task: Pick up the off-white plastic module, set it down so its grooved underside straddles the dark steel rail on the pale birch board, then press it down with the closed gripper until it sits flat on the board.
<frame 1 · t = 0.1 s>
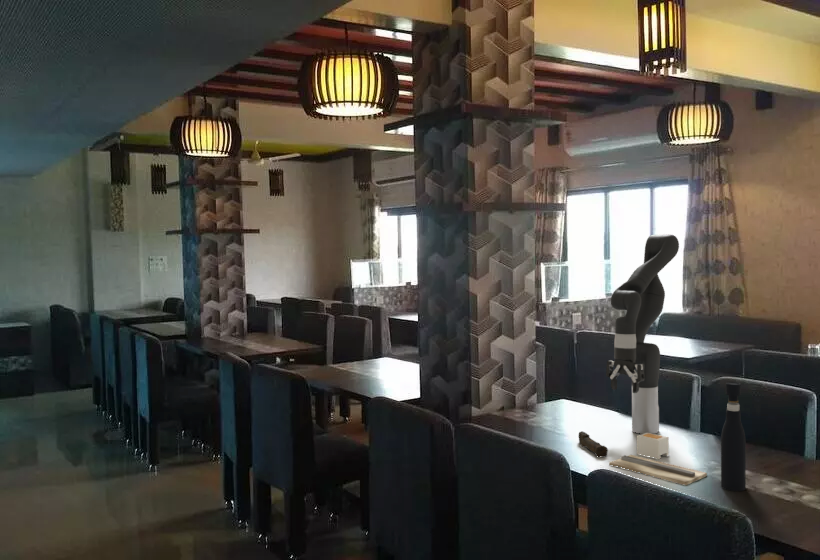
hand: (624, 391, 256), 17 cm above the table, tool pointing down, fingers open, 8 cm apart
module: (652, 454, 237), on the table
rail board: (656, 470, 220), on the table
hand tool: (589, 450, 244), on the table
wine bottle: (733, 488, 204), on the table
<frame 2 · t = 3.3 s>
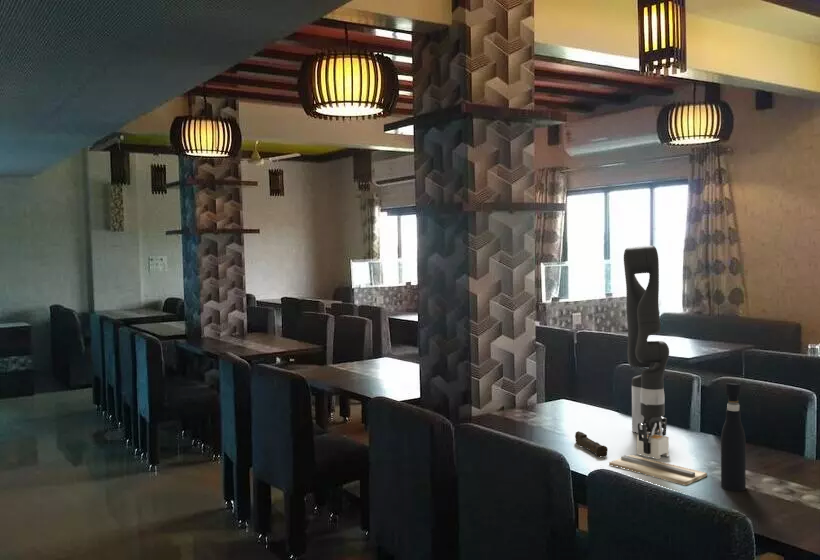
hand: (652, 451, 237), 1 cm above the table, tool pointing down, fingers closed on module, 6 cm apart
module: (652, 454, 237), on the table, touching gripper
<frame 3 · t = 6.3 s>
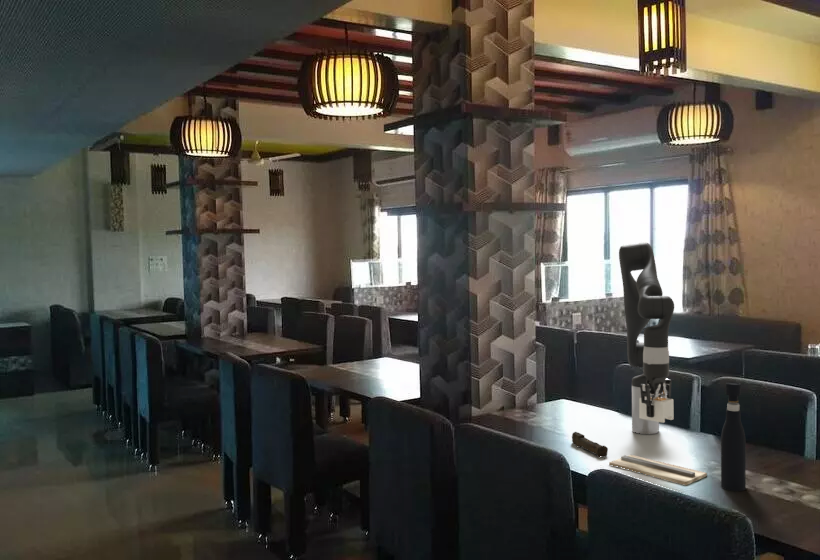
hand: (656, 414, 219), 17 cm above the table, tool pointing down, fingers closed on module, 6 cm apart
module: (656, 418, 220), point 16 cm above the table, touching gripper
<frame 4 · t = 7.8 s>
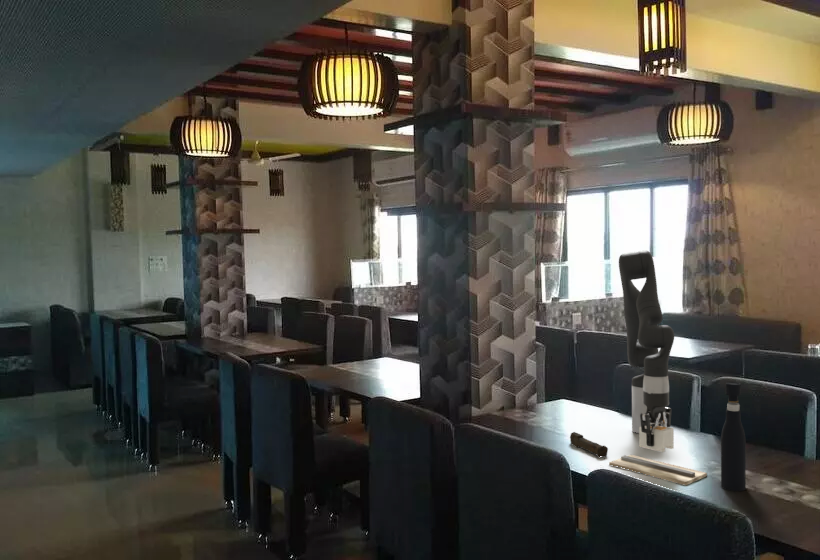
hand: (656, 443, 220), 8 cm above the table, tool pointing down, fingers closed on module, 6 cm apart
module: (656, 447, 220), point 7 cm above the table, touching gripper
when the fingers open (4 cm above the table, at t = 9.3 s): module drops 1 cm, resting on rail board.
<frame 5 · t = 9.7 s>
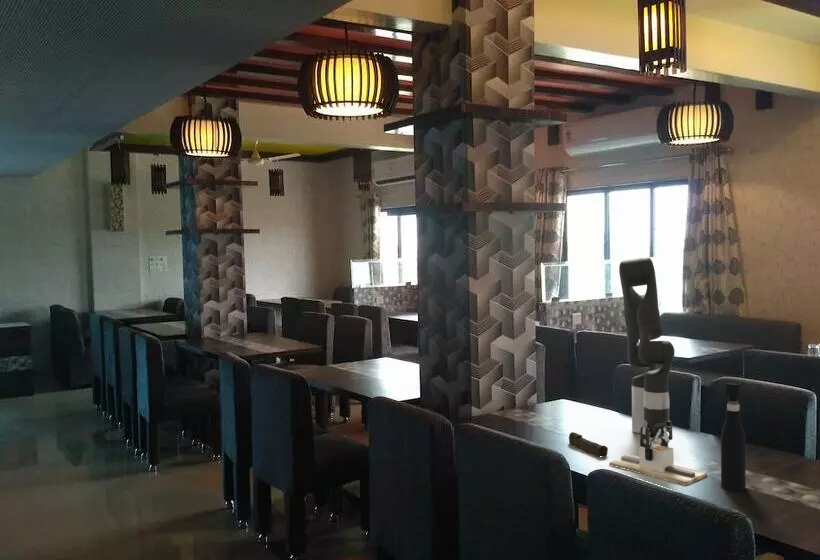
hand: (656, 457, 220), 4 cm above the table, tool pointing down, fingers open, 8 cm apart
module: (656, 467, 220), point 1 cm above the table, touching rail board
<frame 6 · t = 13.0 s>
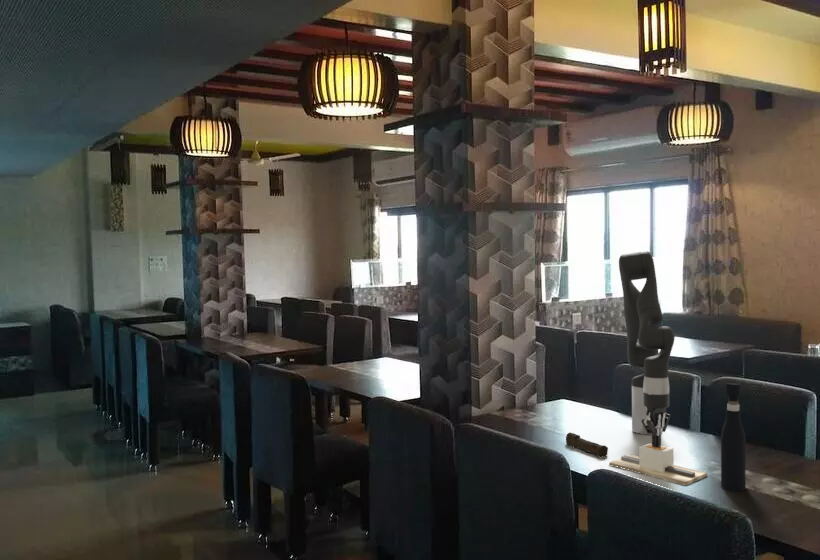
hand: (656, 446, 220), 7 cm above the table, tool pointing down, fingers closed
module: (656, 467, 220), point 1 cm above the table, touching gripper, rail board
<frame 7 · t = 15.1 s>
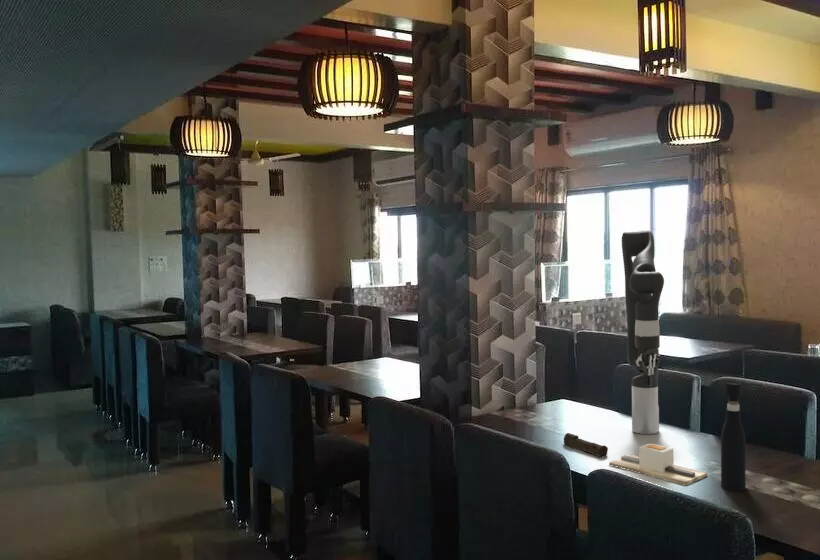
hand: (647, 386, 232), 24 cm above the table, tool pointing down, fingers closed
module: (656, 467, 220), point 1 cm above the table, touching rail board
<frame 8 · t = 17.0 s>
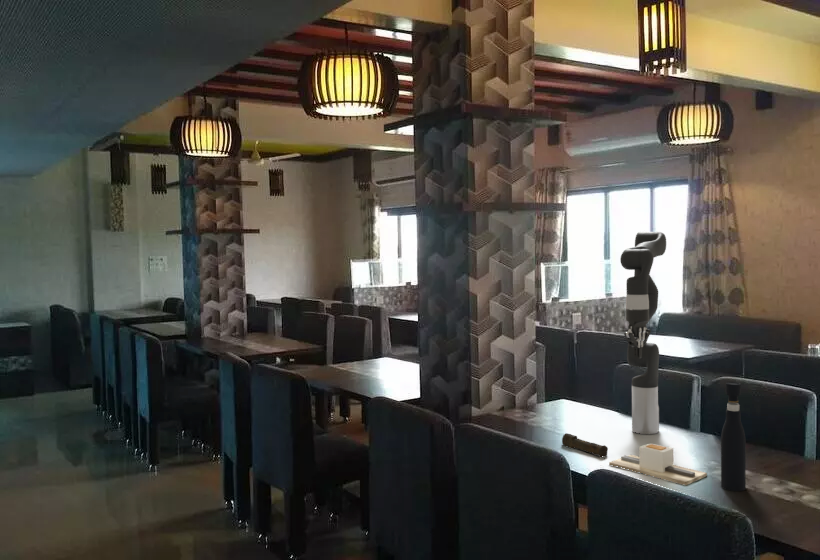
hand: (637, 358, 244), 31 cm above the table, tool pointing down, fingers closed
at the end: module inside the target area on the rail board (0.2 cm from its centre), point 1.0 cm above the rail board's base; module tilted 0°; the gripper is holding nothing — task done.
